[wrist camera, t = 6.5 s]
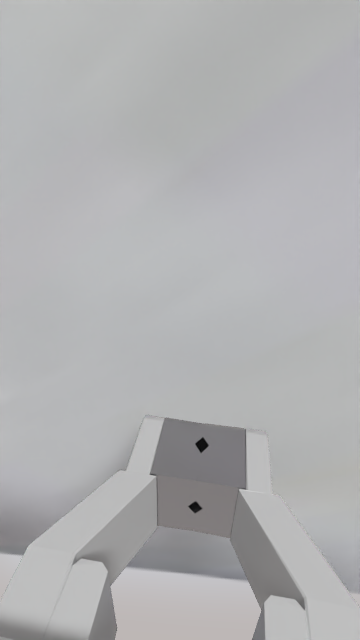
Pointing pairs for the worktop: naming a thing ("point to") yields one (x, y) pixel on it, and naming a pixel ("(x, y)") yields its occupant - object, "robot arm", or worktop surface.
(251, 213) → the worktop surface
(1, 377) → the worktop surface
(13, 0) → the worktop surface
